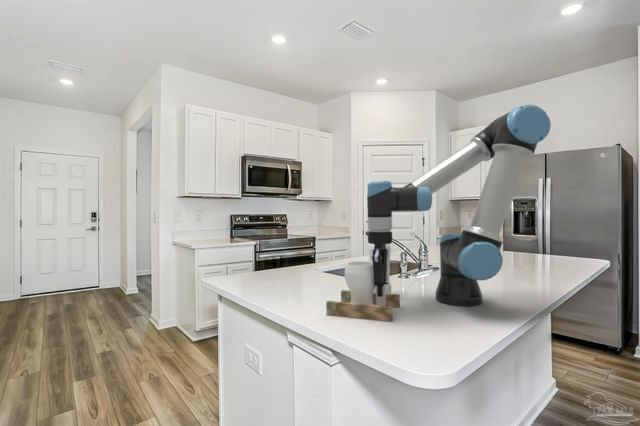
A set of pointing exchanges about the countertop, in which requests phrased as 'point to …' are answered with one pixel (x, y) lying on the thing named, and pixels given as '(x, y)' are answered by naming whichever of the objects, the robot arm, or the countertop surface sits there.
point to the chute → (363, 307)
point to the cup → (360, 281)
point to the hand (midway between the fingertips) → (380, 305)
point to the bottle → (387, 287)
